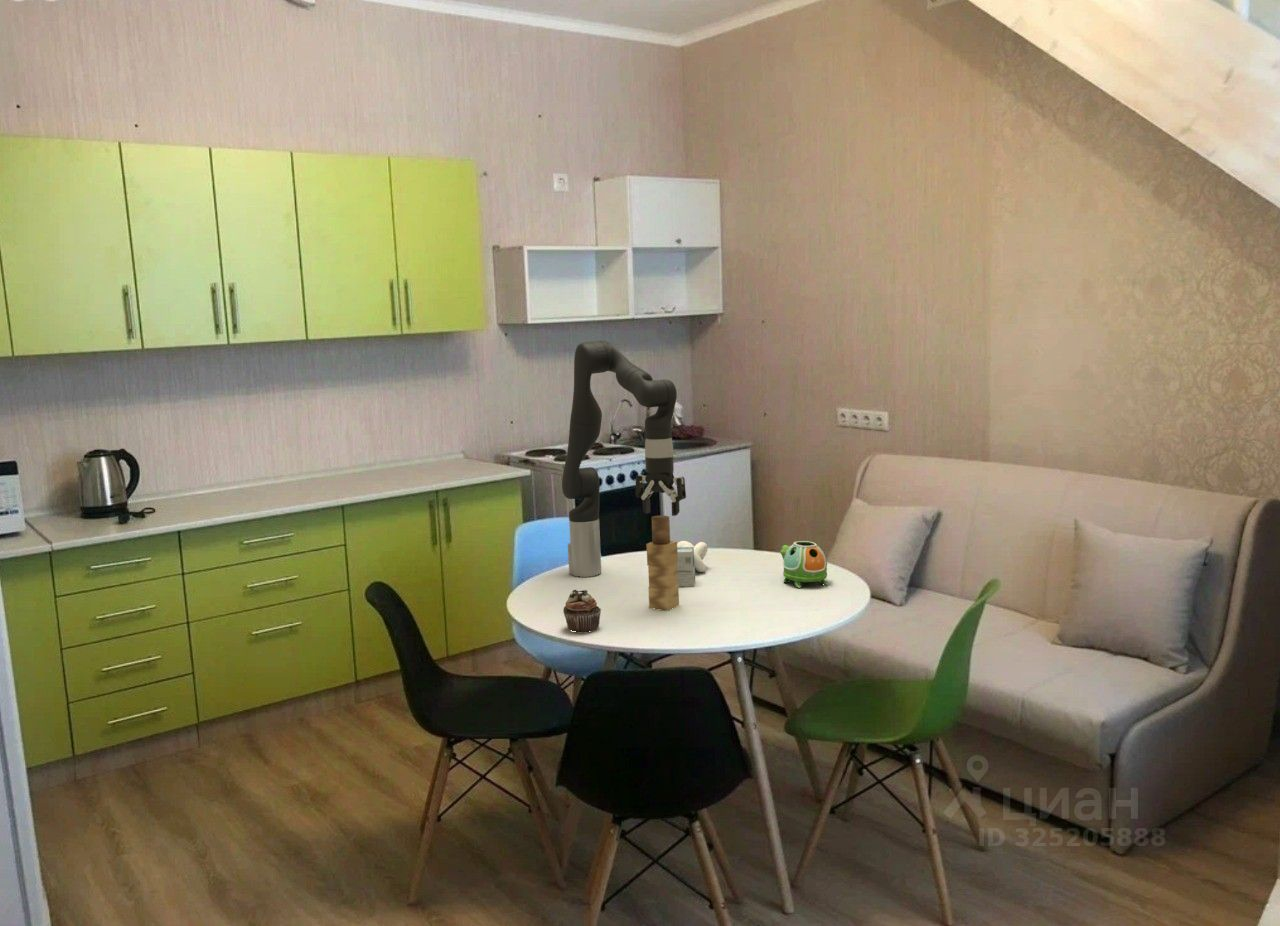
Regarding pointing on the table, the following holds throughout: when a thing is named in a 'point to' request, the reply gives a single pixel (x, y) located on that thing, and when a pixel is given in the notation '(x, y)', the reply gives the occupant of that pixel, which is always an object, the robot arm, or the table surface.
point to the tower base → (664, 598)
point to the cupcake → (581, 612)
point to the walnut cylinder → (660, 530)
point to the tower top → (662, 554)
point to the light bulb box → (685, 566)
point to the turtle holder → (804, 563)
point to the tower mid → (662, 577)
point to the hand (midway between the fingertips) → (661, 514)
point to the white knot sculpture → (696, 553)
